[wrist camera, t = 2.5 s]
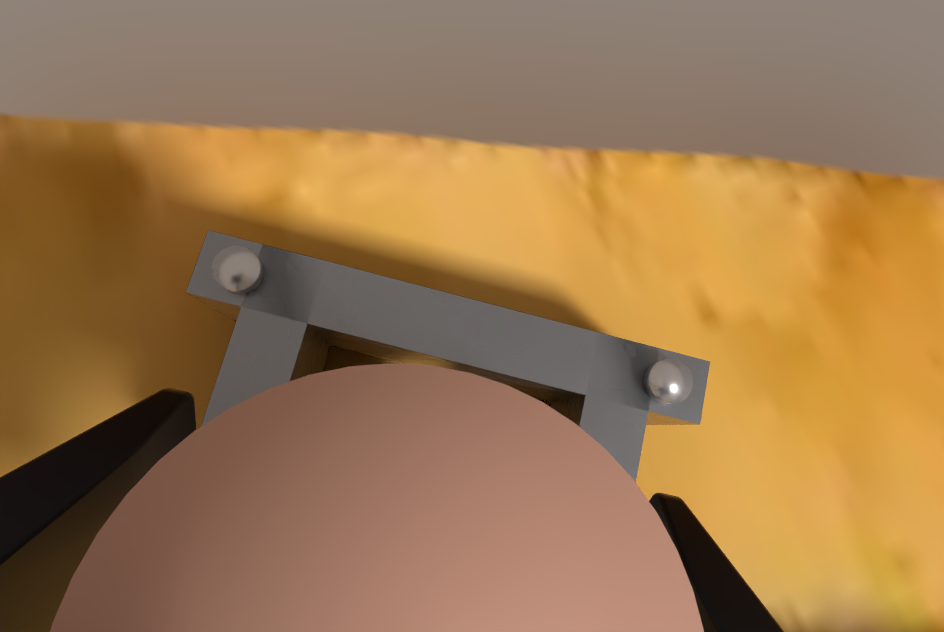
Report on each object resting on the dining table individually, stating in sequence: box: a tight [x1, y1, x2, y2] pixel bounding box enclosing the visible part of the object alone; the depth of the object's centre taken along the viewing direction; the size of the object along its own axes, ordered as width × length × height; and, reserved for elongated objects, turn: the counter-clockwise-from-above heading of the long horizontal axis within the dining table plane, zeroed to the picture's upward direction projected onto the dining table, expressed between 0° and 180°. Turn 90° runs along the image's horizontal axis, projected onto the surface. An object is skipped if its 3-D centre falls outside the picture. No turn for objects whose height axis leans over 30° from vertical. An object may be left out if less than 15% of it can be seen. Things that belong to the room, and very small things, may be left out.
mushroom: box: [50, 363, 704, 632], centre depth 10 cm, size 5×5×12 cm
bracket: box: [186, 230, 710, 482], centre depth 14 cm, size 6×12×4 cm, turn 76°
